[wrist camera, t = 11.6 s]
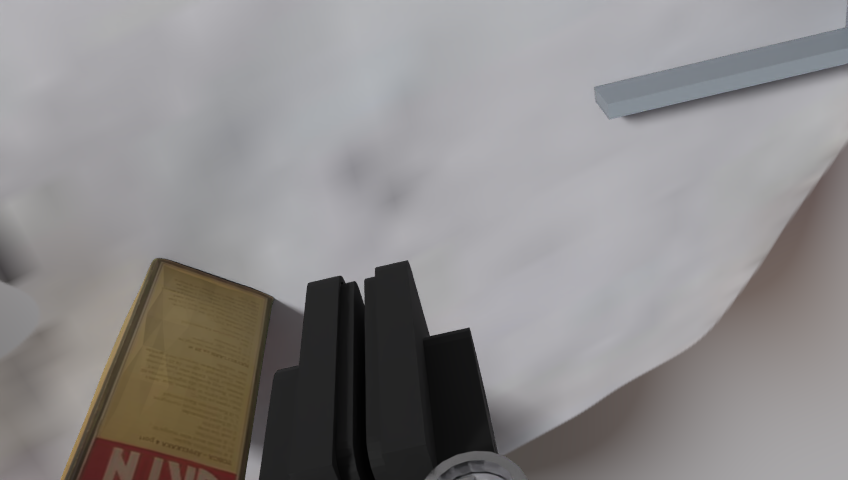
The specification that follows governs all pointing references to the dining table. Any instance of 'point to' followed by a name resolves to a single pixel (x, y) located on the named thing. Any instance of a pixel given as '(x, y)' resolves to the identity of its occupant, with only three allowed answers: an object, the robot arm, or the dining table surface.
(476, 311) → the dining table surface
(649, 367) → the dining table surface
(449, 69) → the dining table surface
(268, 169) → the dining table surface
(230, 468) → the food packaging
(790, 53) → the tray frame
